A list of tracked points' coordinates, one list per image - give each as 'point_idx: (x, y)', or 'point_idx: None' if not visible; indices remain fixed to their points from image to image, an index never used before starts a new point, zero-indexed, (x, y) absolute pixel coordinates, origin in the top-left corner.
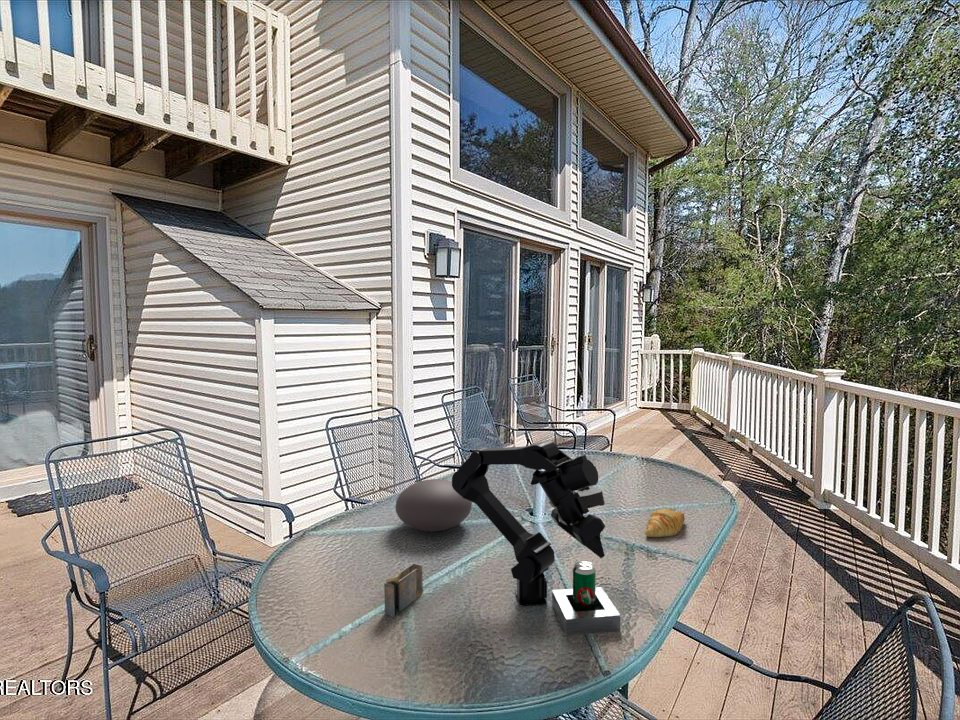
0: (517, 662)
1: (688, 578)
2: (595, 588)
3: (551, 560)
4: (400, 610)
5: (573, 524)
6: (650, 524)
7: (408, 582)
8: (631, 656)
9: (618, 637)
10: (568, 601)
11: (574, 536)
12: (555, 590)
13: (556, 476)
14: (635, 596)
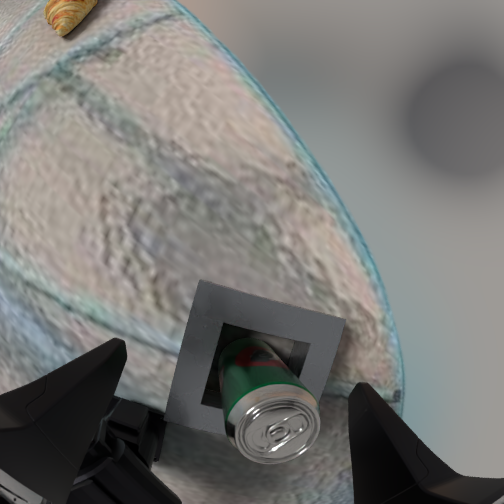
0: (312, 498)
1: (215, 45)
2: (283, 364)
3: (138, 468)
4: None
5: (44, 461)
6: (58, 17)
7: None
8: (391, 338)
9: (343, 331)
10: None
11: (92, 429)
12: (168, 414)
13: None
14: (221, 179)
